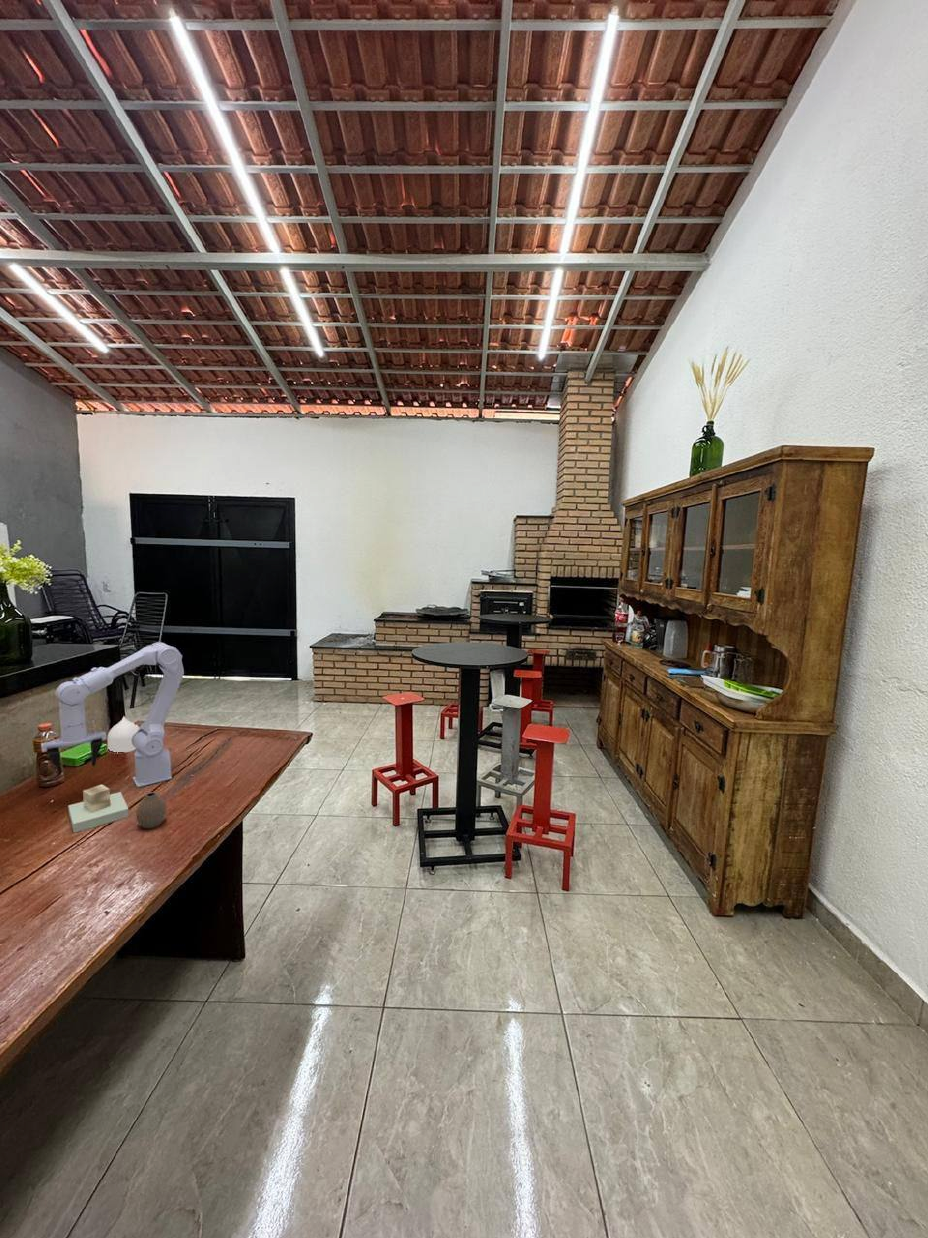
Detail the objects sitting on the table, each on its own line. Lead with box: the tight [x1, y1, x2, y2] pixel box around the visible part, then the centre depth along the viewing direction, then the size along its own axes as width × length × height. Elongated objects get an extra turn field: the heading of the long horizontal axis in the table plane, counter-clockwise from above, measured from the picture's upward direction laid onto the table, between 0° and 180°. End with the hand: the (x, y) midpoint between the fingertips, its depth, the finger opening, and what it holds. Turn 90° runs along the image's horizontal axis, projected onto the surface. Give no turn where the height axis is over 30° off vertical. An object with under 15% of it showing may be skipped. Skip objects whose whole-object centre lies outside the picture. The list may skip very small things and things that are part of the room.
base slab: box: [67, 791, 130, 834], centre depth 135 cm, size 12×12×2 cm
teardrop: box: [107, 716, 140, 754], centre depth 179 cm, size 11×11×12 cm
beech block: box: [82, 784, 111, 813], centre depth 135 cm, size 4×4×5 cm
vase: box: [135, 791, 168, 829], centre depth 132 cm, size 7×7×9 cm
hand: (76, 768), depth 141 cm, fingers open, 7 cm apart
